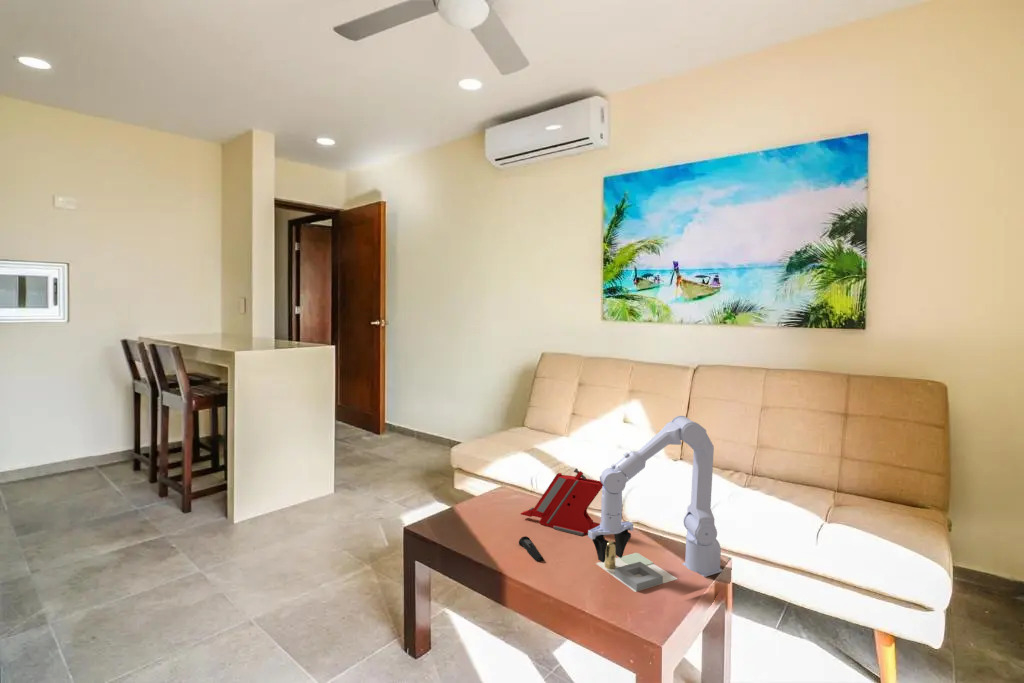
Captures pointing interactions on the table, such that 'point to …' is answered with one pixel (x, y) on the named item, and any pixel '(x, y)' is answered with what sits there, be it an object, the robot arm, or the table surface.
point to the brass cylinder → (610, 555)
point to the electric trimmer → (530, 548)
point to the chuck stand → (638, 572)
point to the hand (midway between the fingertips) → (610, 558)
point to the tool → (567, 504)
